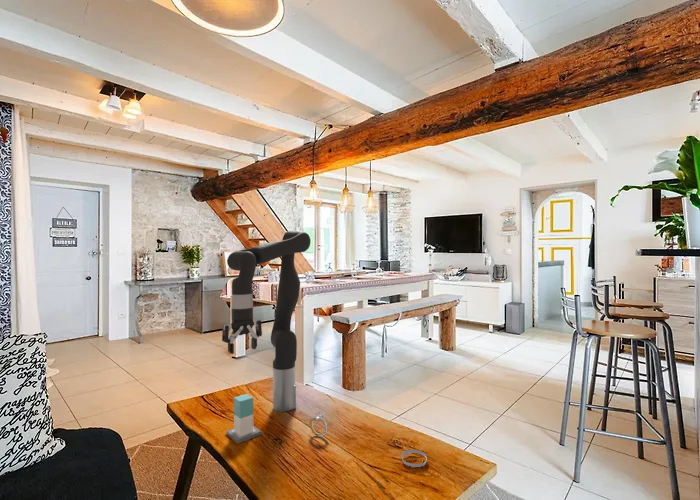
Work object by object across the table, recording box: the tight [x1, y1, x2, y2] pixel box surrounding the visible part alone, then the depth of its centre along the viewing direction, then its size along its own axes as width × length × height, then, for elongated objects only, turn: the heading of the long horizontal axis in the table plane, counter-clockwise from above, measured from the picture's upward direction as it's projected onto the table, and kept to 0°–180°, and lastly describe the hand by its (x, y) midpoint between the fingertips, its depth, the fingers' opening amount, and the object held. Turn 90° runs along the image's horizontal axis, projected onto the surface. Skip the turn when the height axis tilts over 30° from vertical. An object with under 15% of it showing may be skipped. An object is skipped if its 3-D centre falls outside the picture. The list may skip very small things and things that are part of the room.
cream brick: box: [233, 413, 254, 436], centre depth 130 cm, size 5×5×6 cm
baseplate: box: [225, 425, 262, 445], centre depth 130 cm, size 9×9×1 cm
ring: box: [309, 412, 329, 438], centre depth 128 cm, size 7×3×8 cm, turn 61°
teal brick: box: [233, 393, 254, 419], centre depth 130 cm, size 5×5×6 cm
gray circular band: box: [401, 449, 428, 468], centre depth 112 cm, size 8×8×2 cm
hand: (242, 351), depth 130 cm, fingers open, 8 cm apart
